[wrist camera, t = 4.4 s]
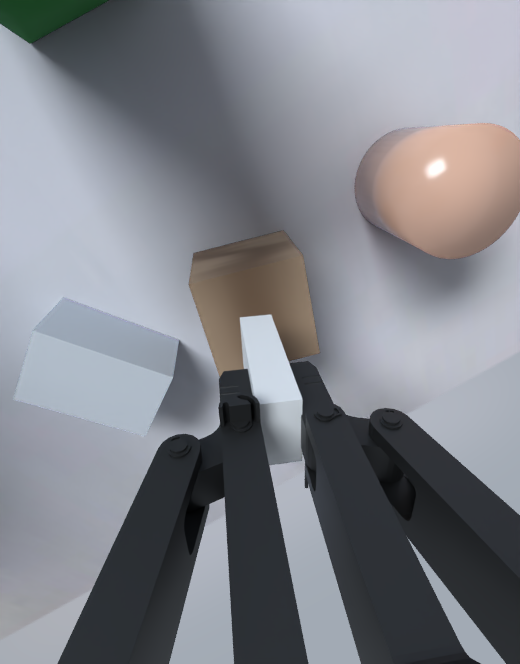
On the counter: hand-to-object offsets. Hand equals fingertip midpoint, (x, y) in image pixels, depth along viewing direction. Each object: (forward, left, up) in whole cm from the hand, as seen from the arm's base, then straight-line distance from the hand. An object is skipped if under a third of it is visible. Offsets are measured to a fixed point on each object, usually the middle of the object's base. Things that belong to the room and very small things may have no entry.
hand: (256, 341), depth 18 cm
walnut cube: (0, 0, -9) cm, 9 cm away
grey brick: (-10, -4, -9) cm, 14 cm away
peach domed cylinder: (+10, +6, -8) cm, 15 cm away
